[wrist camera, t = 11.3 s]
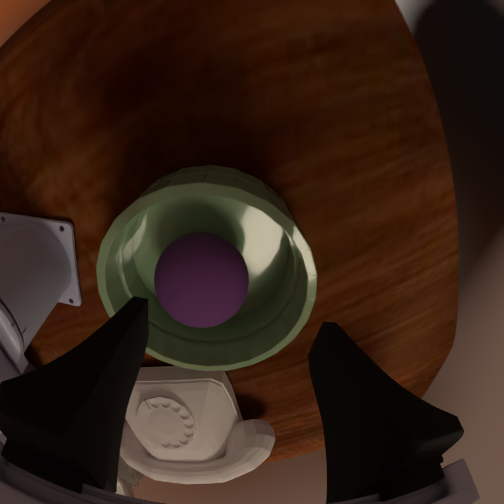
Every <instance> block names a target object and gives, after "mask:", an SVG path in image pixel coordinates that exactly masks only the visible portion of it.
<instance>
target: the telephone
mask: <svg viewBox="0 0 504 504" xmlns="http://www.w3.org/2000/svg"><path fill="white" fill-rule="evenodd" d="M125 419H126V420H127V422H124V428H123V434H122V440H121V447H120V456H121V457H122V458H123V459H124V461H125V462H126V463H127V464H128V465H129V466H130V467H132V468H134V469H136V470H137V471H139V472H141V473H143V474H144V475H146V476H148V477H150V478H152V479H154V480H159V481H165V482H173V483H182V484H204V483H205V484H206V483H222V482H227V481H229V480H231V479H234V478H236V477H238V476H241V475H243V474H245V473H247V472H250V471H252V470H254V469H255V468H256V467H258V466H259V465H260V464H261V463H262V462H263V461H264V460H265V459H266V458H268V457H269V455H270V453H271V450H272V447H273V445H274V442H275V436H274V430H273V429H272V427H271V426H270V424H269V423H268V422H267V421H265V420H262V419H250V420H245V421H243V419H242V416H241V413H240V410H239V406H238V403H237V400H236V397H235V394H234V391H233V388H232V385H231V383H230V381H229V379H228V377H227V375H226V373H225V371H224V370H222V371H201V370H193V369H186V368H181V367H178V366H164V367H140V370H139V373H138V376H137V379H136V382H135V385H134V388H133V391H132V394H131V397H130V400H129V403H128V407H127V412H126V417H125Z"/></svg>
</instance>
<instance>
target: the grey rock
mask: <svg viewBox="0 0 504 504" xmlns="http://www.w3.org/2000/svg"><path fill="white" fill-rule="evenodd" d="M117 477H118V478H121V479H123V480H124V481H125V482H126V483H128V484H130V485H133V486H136V485H138V484H139V483H138V482H139V480H140V479H141V478H142V477H143V473H141V472H139V471H137V470H136V469H134V468H132V467H130V466H129V465H128V464H127V463H126V462H125V461H124V459H123V458H122V457H121V456H120V455H119V464H118V476H117Z"/></svg>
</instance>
